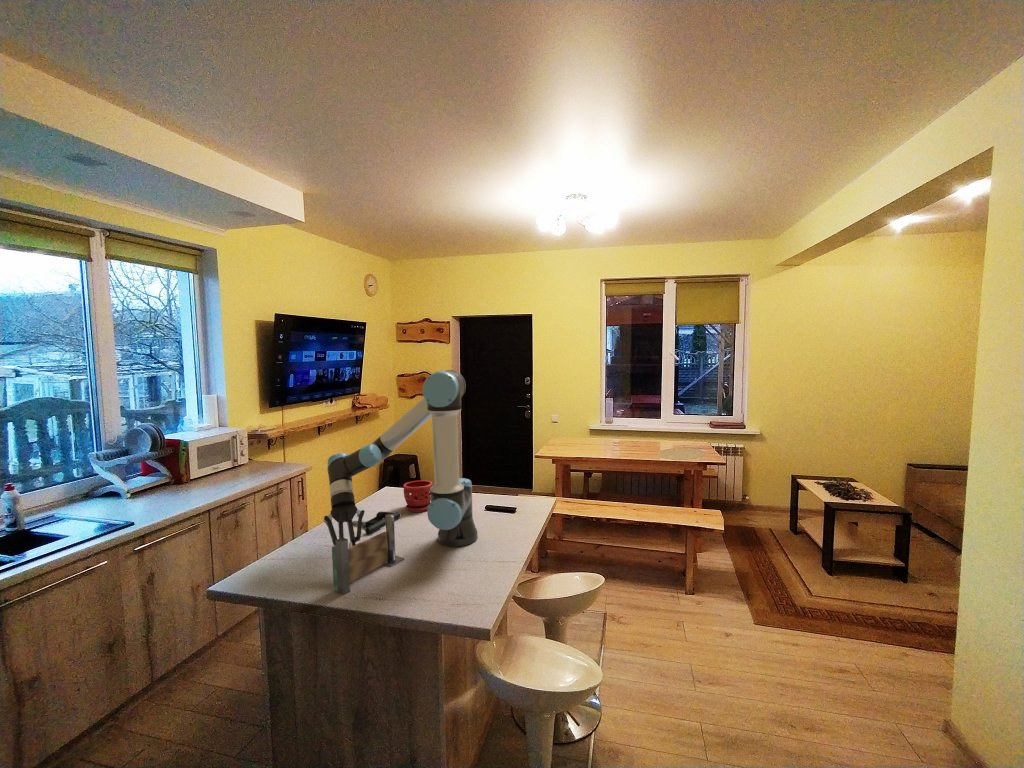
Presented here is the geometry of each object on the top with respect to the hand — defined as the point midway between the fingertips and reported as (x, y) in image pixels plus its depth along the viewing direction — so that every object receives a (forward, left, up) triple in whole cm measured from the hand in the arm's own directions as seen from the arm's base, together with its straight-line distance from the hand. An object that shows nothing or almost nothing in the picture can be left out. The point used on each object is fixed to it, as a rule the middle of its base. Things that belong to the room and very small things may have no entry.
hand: (349, 564), depth 136 cm
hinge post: (-15, +2, -5) cm, 16 cm away
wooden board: (-3, +2, -4) cm, 6 cm away
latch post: (+6, +5, -5) cm, 9 cm away
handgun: (-35, -31, -5) cm, 47 cm away
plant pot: (-58, -27, -5) cm, 64 cm away
